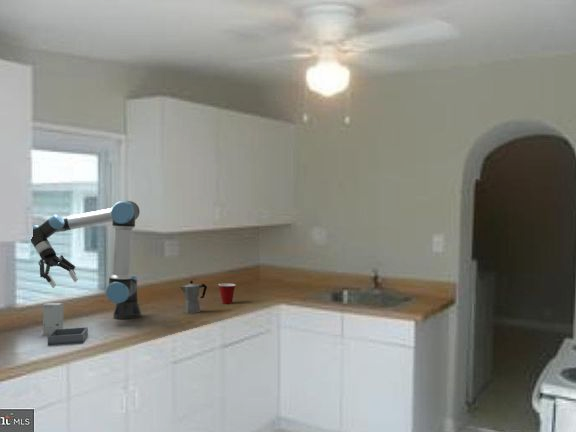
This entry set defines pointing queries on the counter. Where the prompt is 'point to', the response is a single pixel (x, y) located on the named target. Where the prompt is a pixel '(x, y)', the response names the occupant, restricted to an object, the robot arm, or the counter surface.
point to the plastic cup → (227, 292)
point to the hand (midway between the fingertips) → (65, 283)
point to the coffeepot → (193, 297)
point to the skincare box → (52, 317)
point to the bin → (68, 336)
